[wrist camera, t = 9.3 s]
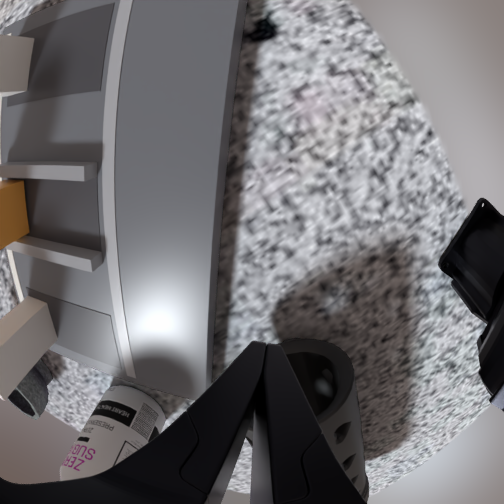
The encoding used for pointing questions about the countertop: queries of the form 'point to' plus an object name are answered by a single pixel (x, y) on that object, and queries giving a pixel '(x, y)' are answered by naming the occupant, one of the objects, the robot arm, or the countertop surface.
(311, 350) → the muzzle brake
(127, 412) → the supplement can
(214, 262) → the slotted gray tray
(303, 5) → the countertop surface
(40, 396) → the mortar and pestle
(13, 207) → the orange tall block
